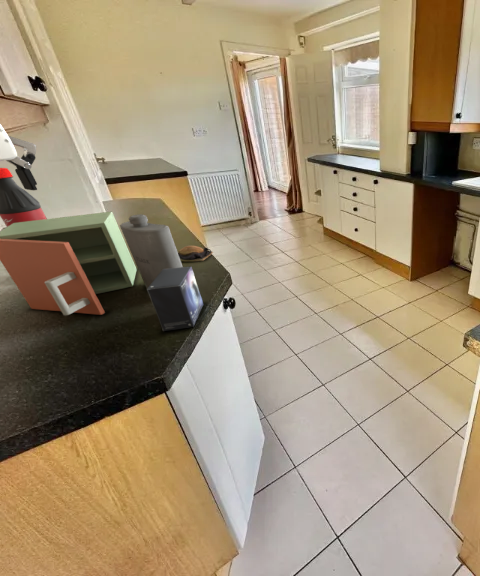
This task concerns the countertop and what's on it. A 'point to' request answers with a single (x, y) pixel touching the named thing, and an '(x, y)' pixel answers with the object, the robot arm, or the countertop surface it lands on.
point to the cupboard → (85, 246)
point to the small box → (176, 298)
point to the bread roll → (193, 253)
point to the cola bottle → (17, 202)
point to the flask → (150, 247)
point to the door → (49, 276)
